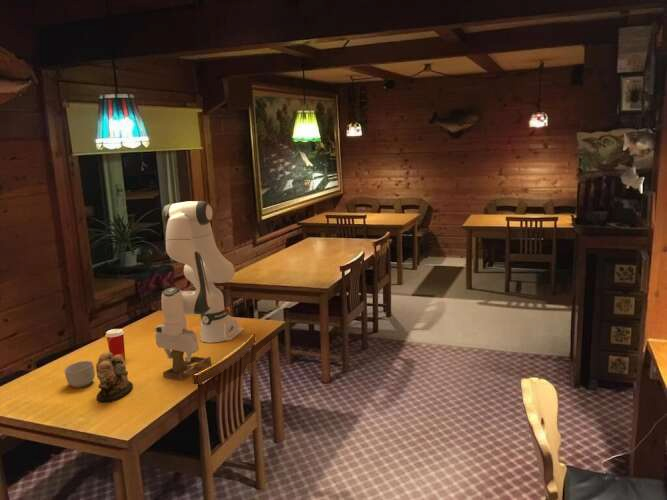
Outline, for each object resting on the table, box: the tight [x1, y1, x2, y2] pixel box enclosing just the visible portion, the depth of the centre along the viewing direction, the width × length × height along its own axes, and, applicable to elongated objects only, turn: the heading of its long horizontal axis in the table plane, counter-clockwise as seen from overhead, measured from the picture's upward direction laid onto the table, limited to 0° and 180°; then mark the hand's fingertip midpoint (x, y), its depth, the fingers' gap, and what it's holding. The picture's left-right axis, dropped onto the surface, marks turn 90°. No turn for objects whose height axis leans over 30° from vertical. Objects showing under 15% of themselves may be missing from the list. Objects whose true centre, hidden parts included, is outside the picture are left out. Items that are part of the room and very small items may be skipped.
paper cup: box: [105, 328, 126, 362], centre depth 247 cm, size 8×8×14 cm
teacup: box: [63, 359, 96, 388], centre depth 227 cm, size 14×11×8 cm
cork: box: [170, 350, 186, 375], centre depth 230 cm, size 6×6×11 cm
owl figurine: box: [95, 351, 134, 403], centre depth 215 cm, size 18×12×17 cm, turn 177°
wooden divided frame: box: [162, 355, 212, 382], centre depth 235 cm, size 18×10×4 cm, turn 152°
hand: (179, 359), depth 230 cm, fingers open, 8 cm apart
